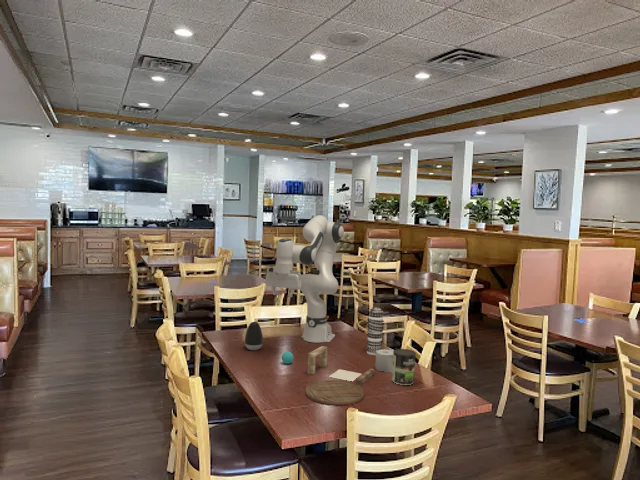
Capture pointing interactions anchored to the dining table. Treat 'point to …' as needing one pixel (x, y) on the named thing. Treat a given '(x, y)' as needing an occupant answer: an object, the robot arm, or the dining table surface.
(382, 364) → the toilet tissue
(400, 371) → the coffee can
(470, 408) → the dining table surface
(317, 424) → the dining table surface
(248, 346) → the speaker
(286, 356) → the ball
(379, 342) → the leaning tower model
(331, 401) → the trivet
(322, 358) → the bridge
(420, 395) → the dining table surface
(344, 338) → the dining table surface
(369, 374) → the stopper wall
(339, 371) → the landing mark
